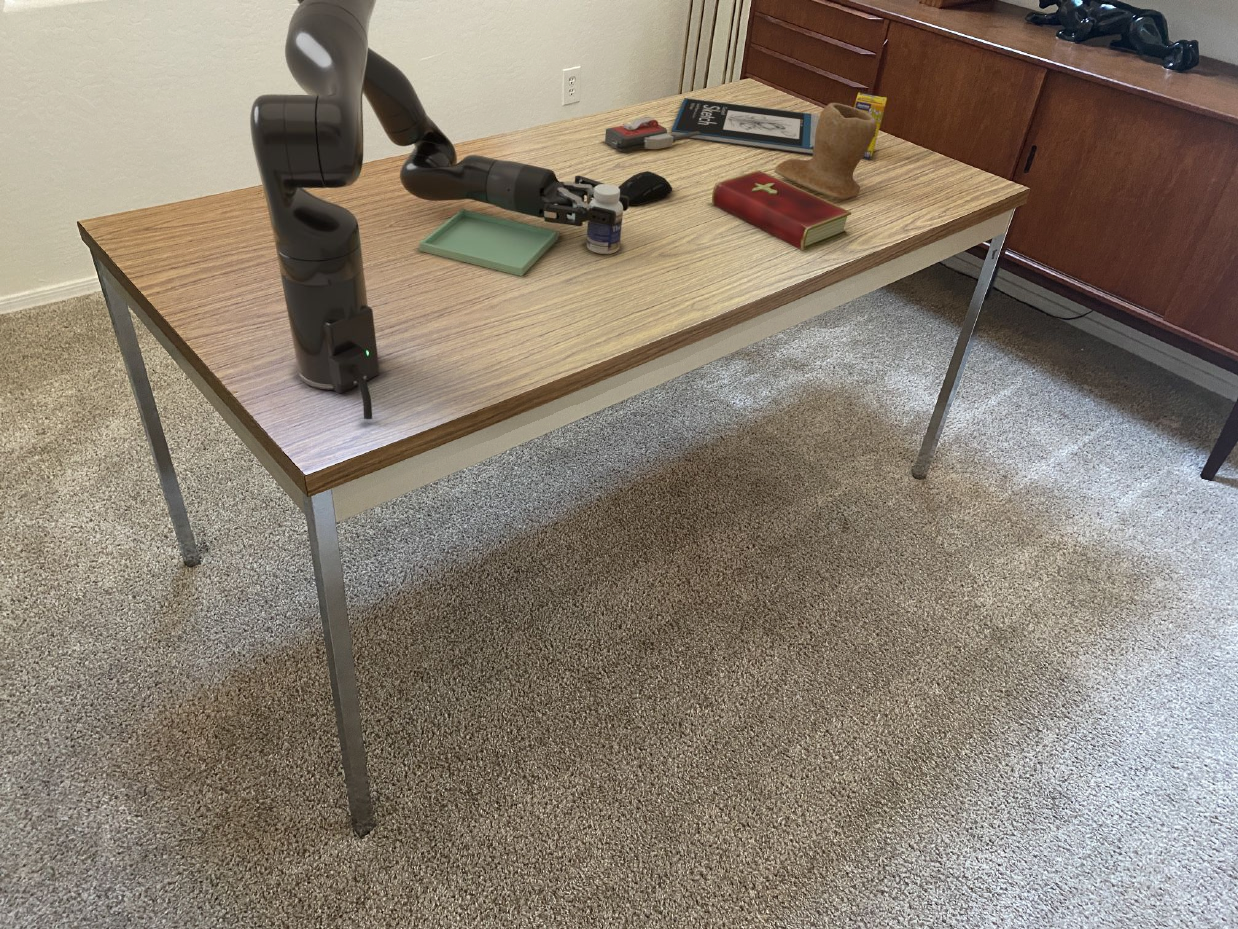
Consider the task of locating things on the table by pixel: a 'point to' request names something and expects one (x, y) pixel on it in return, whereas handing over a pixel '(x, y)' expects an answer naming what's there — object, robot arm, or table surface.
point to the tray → (490, 241)
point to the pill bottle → (603, 235)
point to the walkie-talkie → (642, 135)
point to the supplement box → (874, 108)
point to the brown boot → (834, 152)
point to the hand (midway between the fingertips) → (621, 211)
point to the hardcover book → (781, 209)
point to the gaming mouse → (645, 188)
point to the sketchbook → (747, 125)
